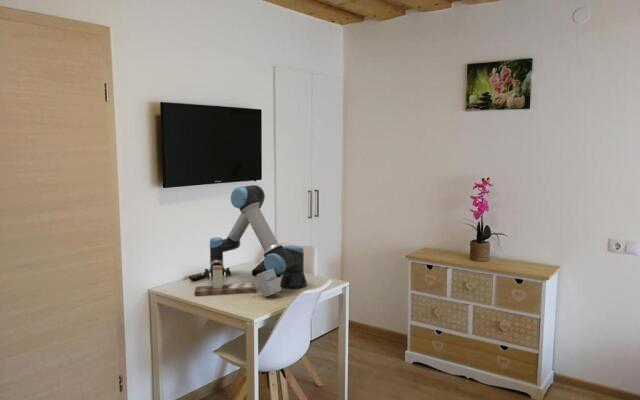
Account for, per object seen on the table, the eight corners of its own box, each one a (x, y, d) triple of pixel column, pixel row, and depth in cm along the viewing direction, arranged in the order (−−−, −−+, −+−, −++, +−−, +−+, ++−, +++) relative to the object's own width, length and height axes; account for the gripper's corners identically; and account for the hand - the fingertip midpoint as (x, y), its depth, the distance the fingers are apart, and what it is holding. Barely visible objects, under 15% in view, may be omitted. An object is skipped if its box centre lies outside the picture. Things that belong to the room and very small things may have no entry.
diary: (251, 277, 314) (251, 269, 313) (262, 267, 339) (261, 260, 338) (281, 278, 311) (280, 270, 311) (289, 268, 336) (289, 260, 335)
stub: (222, 286, 281) (222, 265, 280) (222, 287, 279) (222, 266, 277) (213, 287, 280) (212, 265, 279) (213, 288, 278) (212, 266, 276)
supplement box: (271, 294, 266) (262, 271, 268) (263, 297, 272) (255, 274, 273) (282, 290, 271) (273, 267, 273) (274, 292, 277) (266, 271, 278)
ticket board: (255, 287, 289) (255, 282, 289) (256, 292, 279) (256, 287, 279) (195, 291, 282) (195, 285, 282) (195, 296, 272) (194, 290, 272)
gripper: (234, 273, 299) (236, 283, 277) (199, 274, 294) (198, 285, 272) (234, 260, 298) (236, 270, 276) (199, 262, 294) (198, 272, 271)
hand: (217, 278), depth 274 cm, fingers open, 7 cm apart
